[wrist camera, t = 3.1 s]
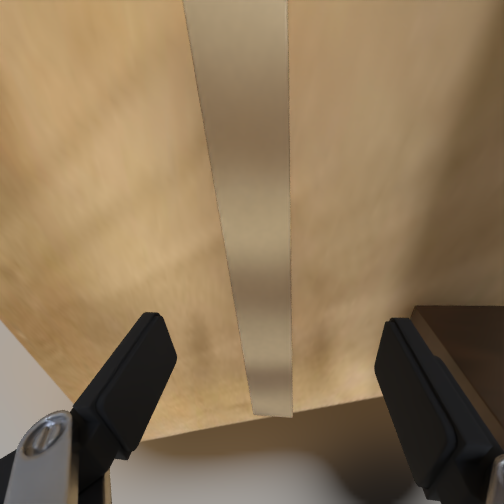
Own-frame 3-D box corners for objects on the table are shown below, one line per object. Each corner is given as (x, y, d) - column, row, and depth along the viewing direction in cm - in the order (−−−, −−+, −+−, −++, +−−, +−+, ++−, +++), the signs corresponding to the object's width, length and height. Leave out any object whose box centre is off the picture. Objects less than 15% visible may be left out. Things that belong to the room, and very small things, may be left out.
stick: (290, 368, 21) (292, 418, 17) (257, 367, 21) (253, 415, 18) (284, -12, 9) (286, -94, 6) (210, 2, 9) (169, -66, 6)
